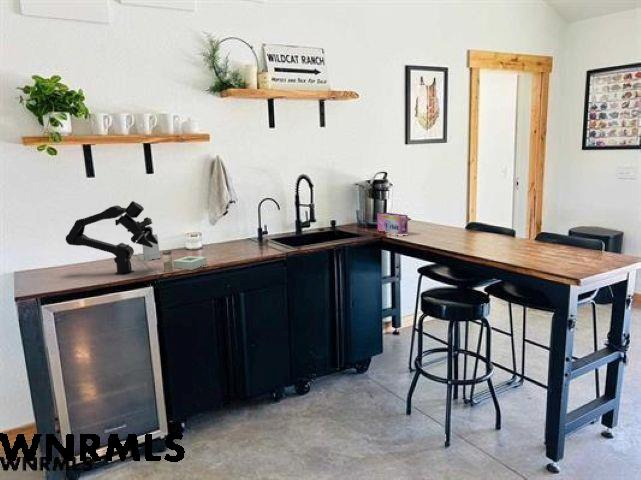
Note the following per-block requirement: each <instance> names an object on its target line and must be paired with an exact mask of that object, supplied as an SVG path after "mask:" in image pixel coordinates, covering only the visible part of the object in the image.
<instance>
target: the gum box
mask: <svg viewBox="0 0 641 480" xmlns="http://www.w3.org/2000/svg"><path fill="white" fill-rule="evenodd" d="M376 217H377V231H378V230H379V231H385V232H390V233H395V234H407V233H408V232H409V229H408V228H409V226H408V223H409V222H408V218H409V217H408V215H407V214H401V213H400V214H399V213H391V212H380V213H377V215H376ZM408 234H409V233H408Z"/></svg>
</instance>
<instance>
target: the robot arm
mask: <svg viewBox="0 0 641 480" xmlns="http://www.w3.org/2000/svg"><path fill="white" fill-rule="evenodd" d="M144 209H145V208H144V207H143V205H141V204H139V203H138V202H135V201H134V200H132V201H131V202H130V204H128V206H126V207H122V206H120V205H117V204H116V205H113V206H110V207H108V208H106V209H105V210H103V211H101V212H98V213H97V214H93V215H89V216H87V217H83V218H79V219H77V220H75V222H74V223H73V226H72V227H71V229H70V230H69V232H68V234H66V236H65V242H66V243H67V244H68V245H69V246H76V247H77V246H79V247H81V246H85V247H88V248H92V249H96V250H99V251H103V252H106V253H111V254H112V255H114V256H115V257H114V258H113V261H114V263H115V264H116V272H115V275H127V274H130V273H133V272H135V271H134V270H132V262H131V259H132V256H133V255H134V253H135V251H134V248H133V247H132V246H131V245H130V244H126V243H124V242H120V243H118V244H114V243H110V242H106V241H102V240H99V239H94V238H90V237H89V236H87V235H86V234H84V233H85V227H86V226H87V225H91V224H94V223H97V222H100V221H103V220H110V219H115V220H114V222H115V226H118V225H119V226H120V225H121V226H122V227H124V228H125V229H126V231H127V233H131V234H132V236H131V237H130V241H131V242H132V243H133V244H138V245H140V246H141V245H144V246H147V247H151V248H152V247H153V245H152V244H151V243H150V242H152V243H155V244H158V245H159V241H158V242H157V240H156V239H155V237H154V236H153V233H154V232H153V231H154V230H153V227H152V226H150V225H152V224H153V221H152V218H151V217H148V216H147V217H145V218H143V221H142V220H141V221H136V220H135V219H137V218H138V217H139V216H140V215H141V213H142V212H144ZM123 214H124V215H123ZM116 218H118V219H116ZM134 218H135V219H134ZM149 241H150V242H149Z"/></svg>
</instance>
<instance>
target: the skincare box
mask: <svg viewBox="0 0 641 480" xmlns="http://www.w3.org/2000/svg"><path fill="white" fill-rule="evenodd" d="M153 236H154V237H155V239H156V240H157V242H158V244H155V243H152V242H150V241H149V242H150V243H151V244H152V245H153V247H152V248H151V247H147V246H144V245H142V254H143V260H144V261H146V260H149V261H153V260H152V259H155V260H159V259H158V258H160V259H161V255H160V254H161V253H160V247H159V237H158V233H156V232H153Z"/></svg>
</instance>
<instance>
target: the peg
mask: <svg viewBox="0 0 641 480" xmlns="http://www.w3.org/2000/svg"><path fill="white" fill-rule="evenodd" d="M161 253H162V260H163V268H164V269H163V270H164V272H166V273H167V272H168V273H169V271H170V272H173V271H174V265H173V259H172V250H165V251H162V252H161Z"/></svg>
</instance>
